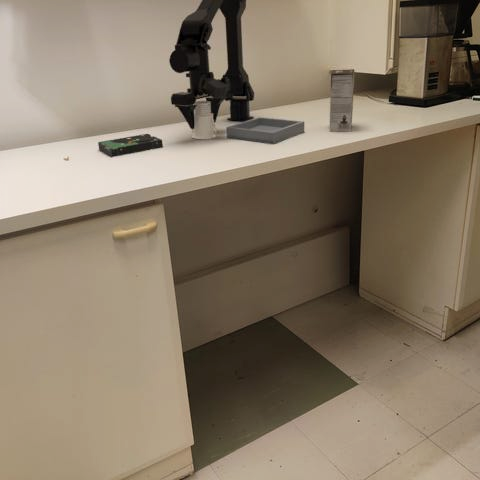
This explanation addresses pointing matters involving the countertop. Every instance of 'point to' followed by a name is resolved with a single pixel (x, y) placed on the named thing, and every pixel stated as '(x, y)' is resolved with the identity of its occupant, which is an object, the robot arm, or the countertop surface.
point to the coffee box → (341, 100)
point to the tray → (265, 130)
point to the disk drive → (130, 145)
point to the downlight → (203, 121)
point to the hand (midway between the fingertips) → (203, 125)
